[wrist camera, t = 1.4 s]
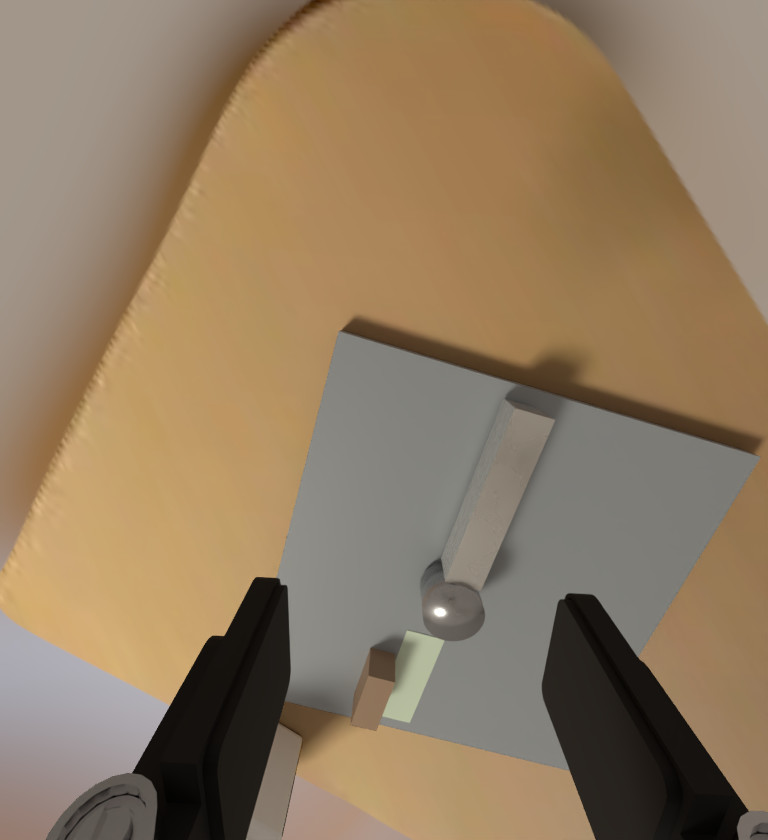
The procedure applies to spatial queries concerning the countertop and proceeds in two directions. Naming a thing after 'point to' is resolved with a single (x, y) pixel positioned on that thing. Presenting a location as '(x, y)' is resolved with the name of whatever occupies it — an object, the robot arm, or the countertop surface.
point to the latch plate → (517, 556)
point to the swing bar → (483, 522)
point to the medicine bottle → (276, 787)
